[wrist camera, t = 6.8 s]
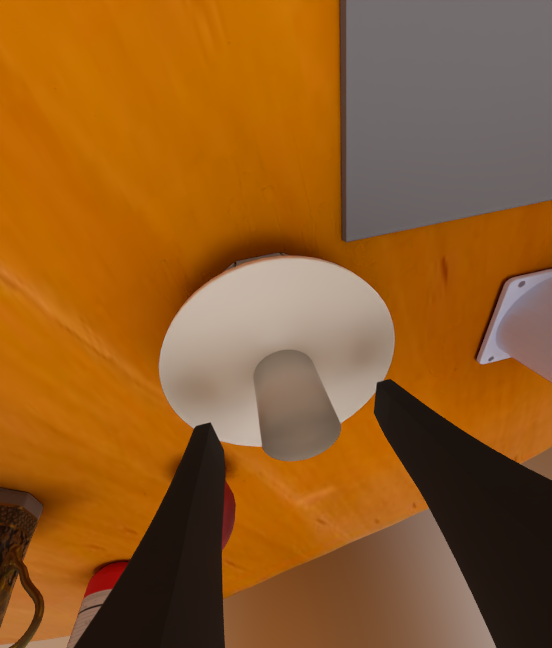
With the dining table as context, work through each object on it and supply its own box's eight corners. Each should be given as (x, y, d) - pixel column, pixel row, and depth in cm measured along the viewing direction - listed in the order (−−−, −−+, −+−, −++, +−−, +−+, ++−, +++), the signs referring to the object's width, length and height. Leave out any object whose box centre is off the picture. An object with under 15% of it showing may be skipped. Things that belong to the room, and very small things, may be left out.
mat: (897, -469, 7) (952, -521, 6) (589, 189, 15) (602, 189, 15) (335, -451, 6) (346, -511, 5) (342, 239, 14) (346, 242, 14)
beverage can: (100, 582, 33) (42, 764, 23) (86, 564, 30) (12, 767, 19) (151, 573, 34) (118, 742, 24) (143, 555, 31) (102, 741, 21)
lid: (401, 230, 10) (490, 258, 7) (379, 412, 17) (420, 475, 13) (112, 288, 10) (47, 353, 6) (205, 455, 16) (198, 535, 13)
